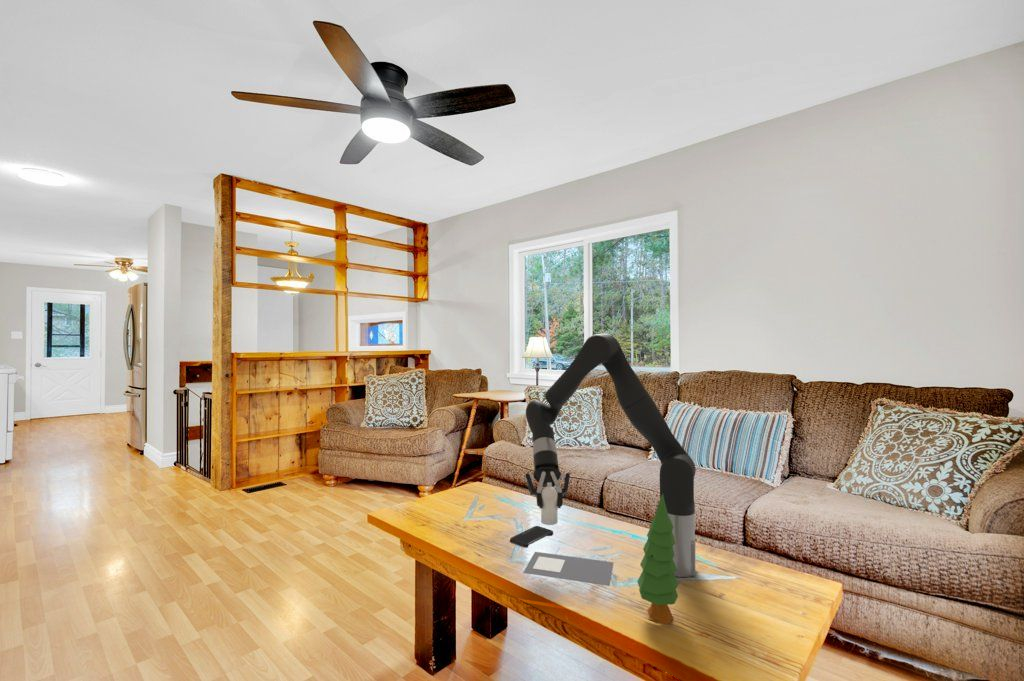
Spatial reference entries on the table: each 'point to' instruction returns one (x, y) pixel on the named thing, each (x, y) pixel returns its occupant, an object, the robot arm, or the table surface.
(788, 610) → the table surface
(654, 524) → the decorative tree
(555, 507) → the white rounded cylinder
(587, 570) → the mat
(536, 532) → the phone
